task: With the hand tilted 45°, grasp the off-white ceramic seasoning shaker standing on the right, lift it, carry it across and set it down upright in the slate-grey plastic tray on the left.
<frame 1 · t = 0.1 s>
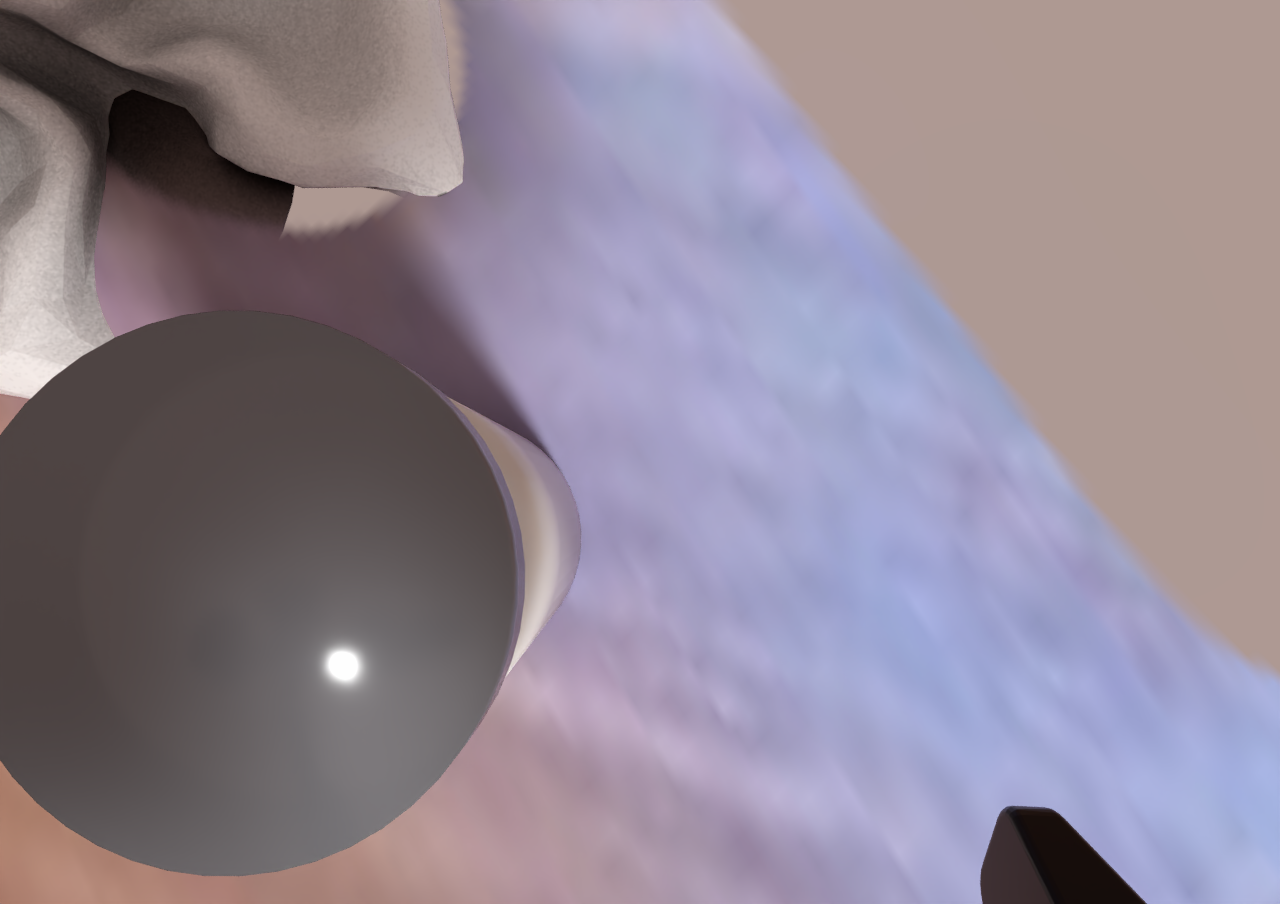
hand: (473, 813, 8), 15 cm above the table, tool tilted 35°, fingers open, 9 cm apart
shaker: (463, 538, 23), on the table
cloth: (39, 1, 25), on the table
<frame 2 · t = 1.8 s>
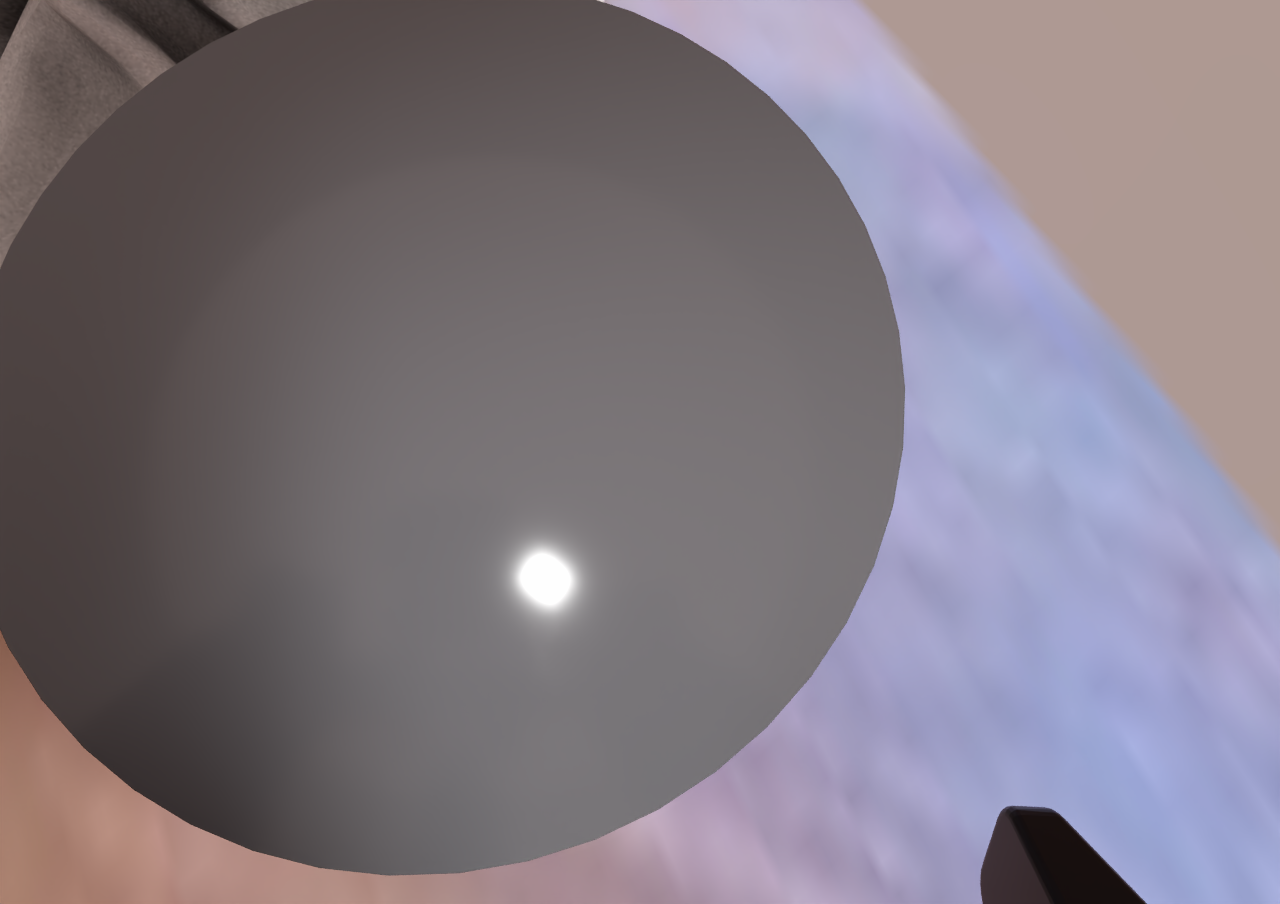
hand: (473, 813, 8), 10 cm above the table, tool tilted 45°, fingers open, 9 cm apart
shaker: (569, 606, 19), on the table
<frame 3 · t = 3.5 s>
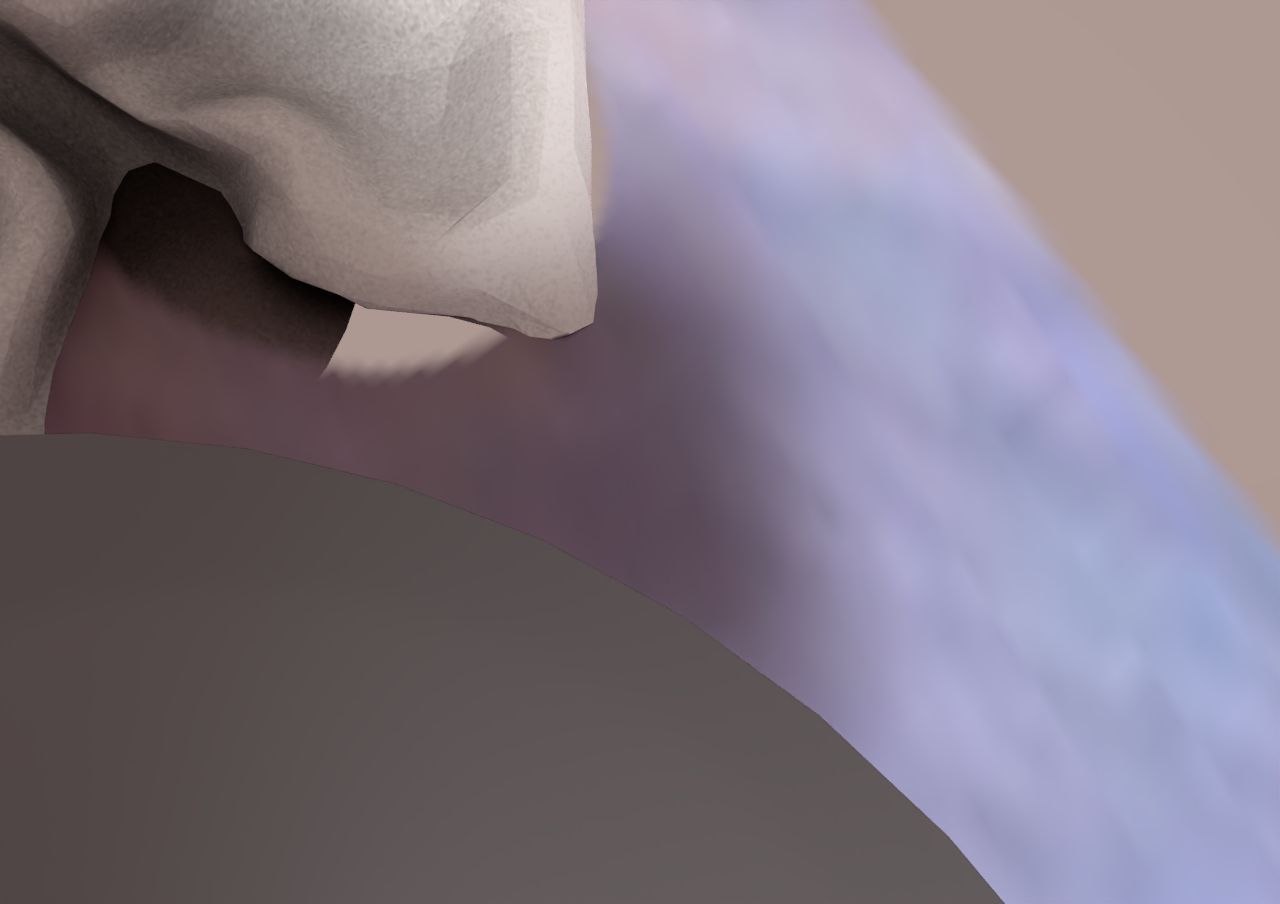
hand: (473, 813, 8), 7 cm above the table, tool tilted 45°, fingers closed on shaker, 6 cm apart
shaker: (536, 867, 14), on the table, touching gripper
cloth: (57, 49, 19), on the table
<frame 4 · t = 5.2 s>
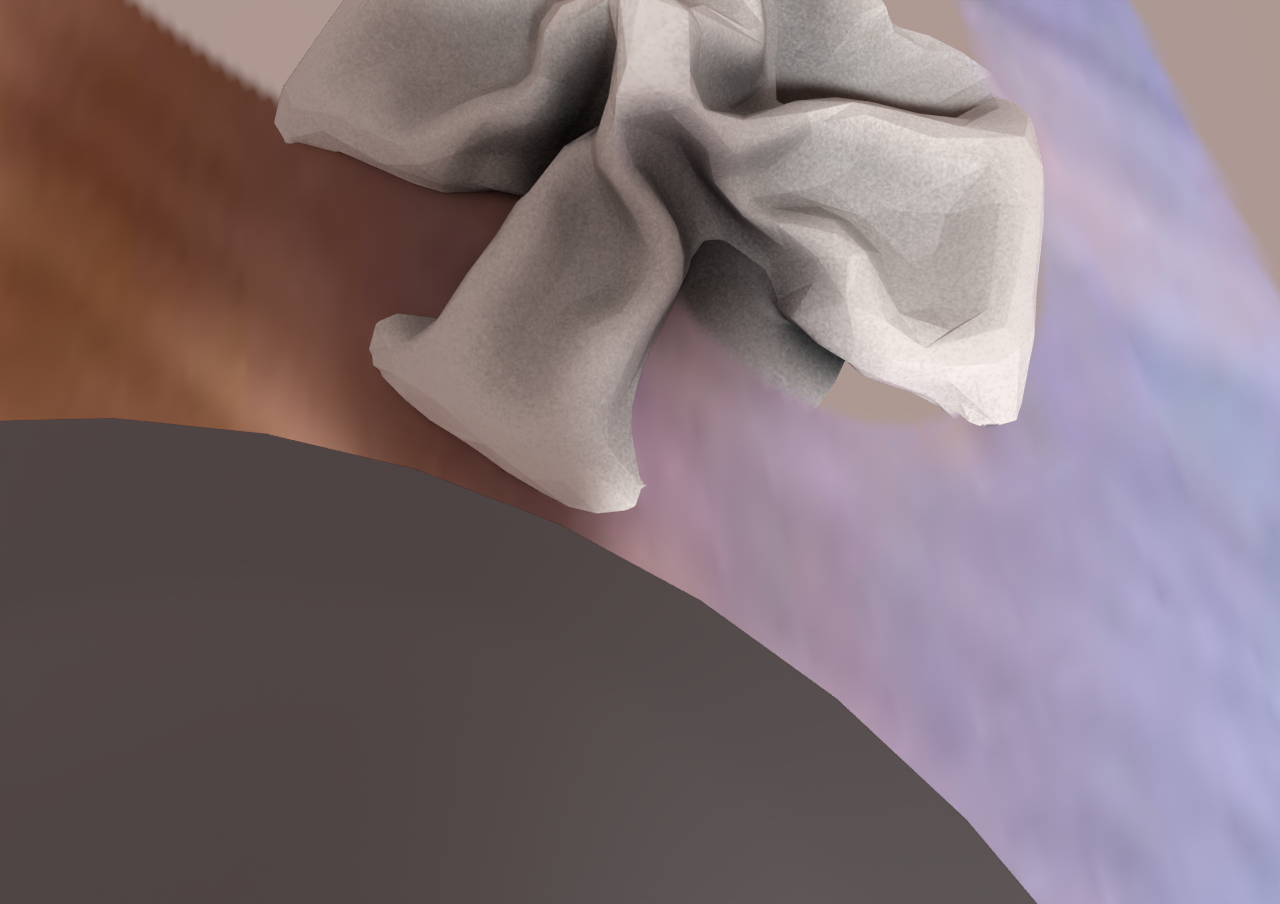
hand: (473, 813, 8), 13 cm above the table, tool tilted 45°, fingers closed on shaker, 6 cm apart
shaker: (539, 864, 14), point 7 cm above the table, touching gripper
cloth: (647, 132, 26), on the table
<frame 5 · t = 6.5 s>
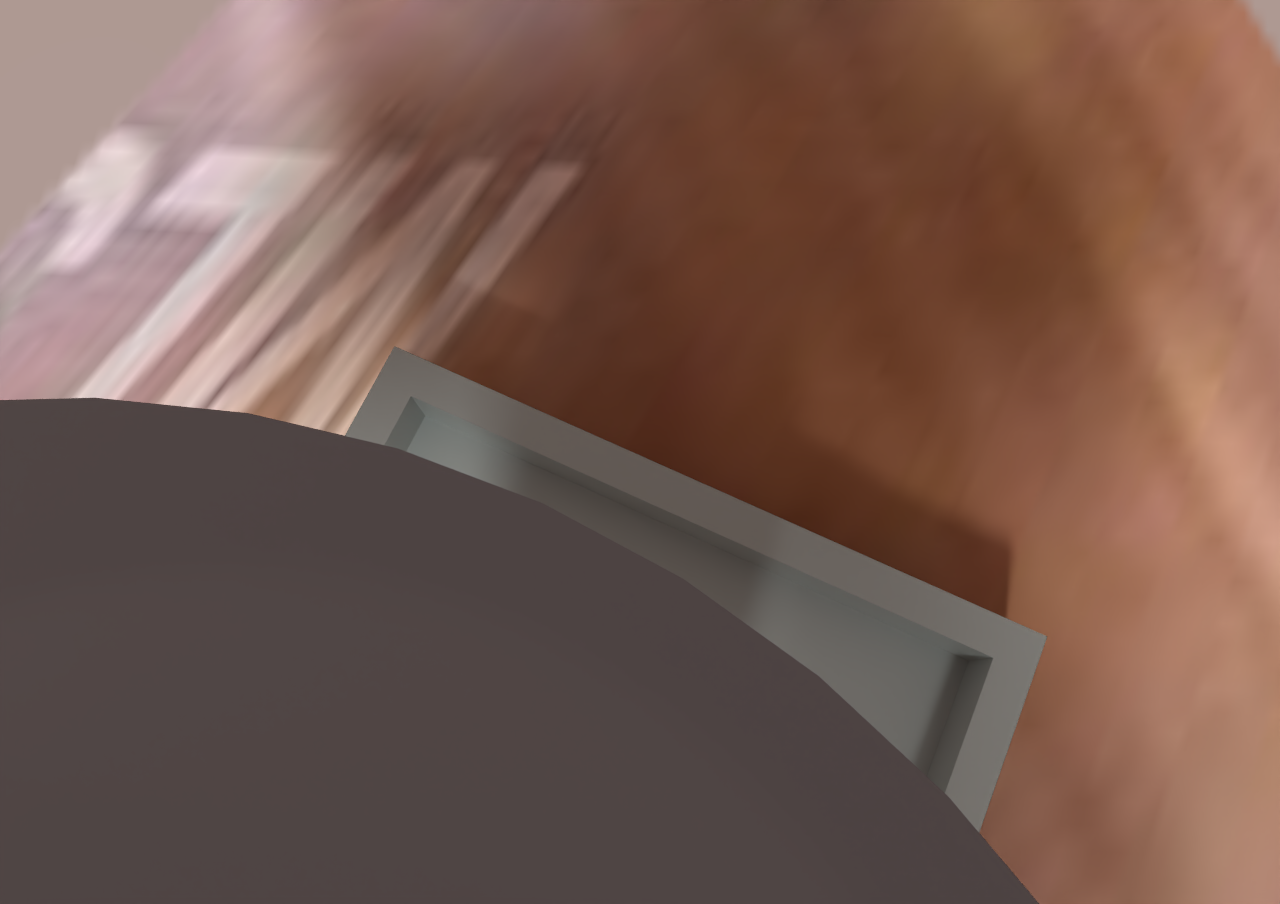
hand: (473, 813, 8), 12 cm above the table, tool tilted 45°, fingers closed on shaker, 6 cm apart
shaker: (536, 861, 14), point 6 cm above the table, touching gripper
tray: (562, 817, 20), on the table
when the fingers open (9 cm above the table, at t = 7.4 s): shaker drops 2 cm, resting on tray.
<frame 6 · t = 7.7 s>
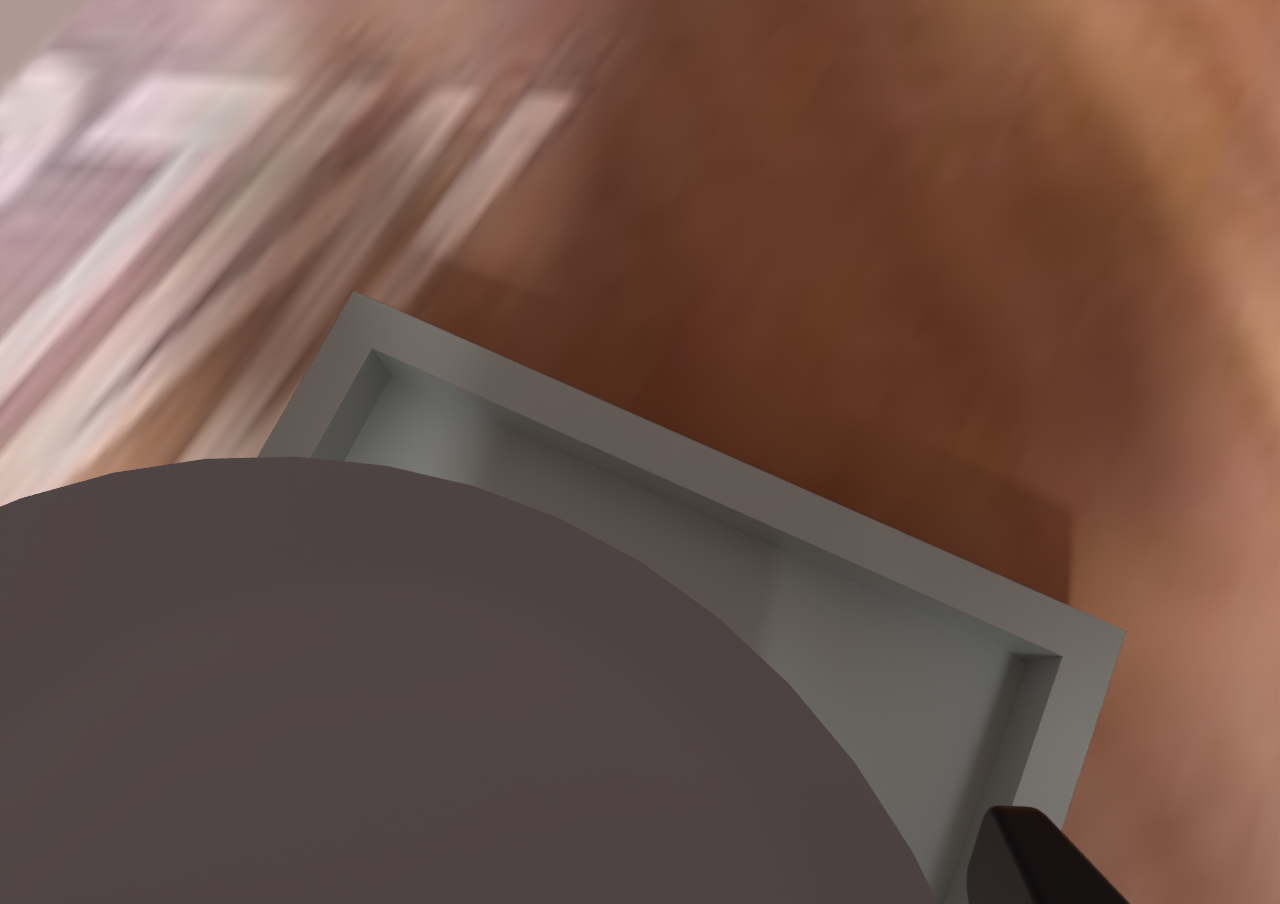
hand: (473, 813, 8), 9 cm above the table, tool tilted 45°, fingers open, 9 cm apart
shaker: (544, 850, 16), point 1 cm above the table, touching tray
tray: (550, 844, 17), on the table
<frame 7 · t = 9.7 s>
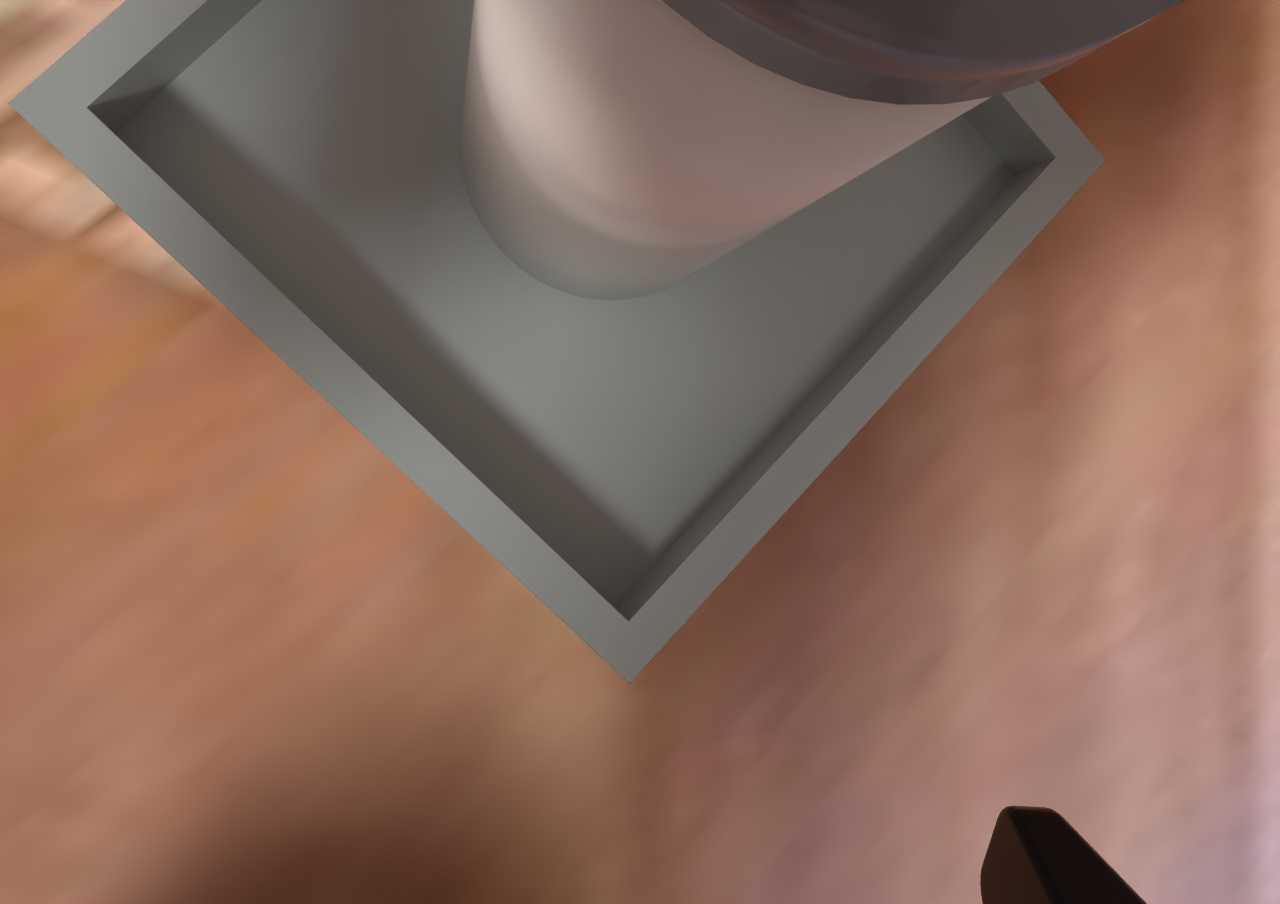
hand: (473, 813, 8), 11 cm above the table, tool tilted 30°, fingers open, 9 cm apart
shaker: (607, 155, 19), point 1 cm above the table, touching tray
tray: (601, 167, 20), on the table
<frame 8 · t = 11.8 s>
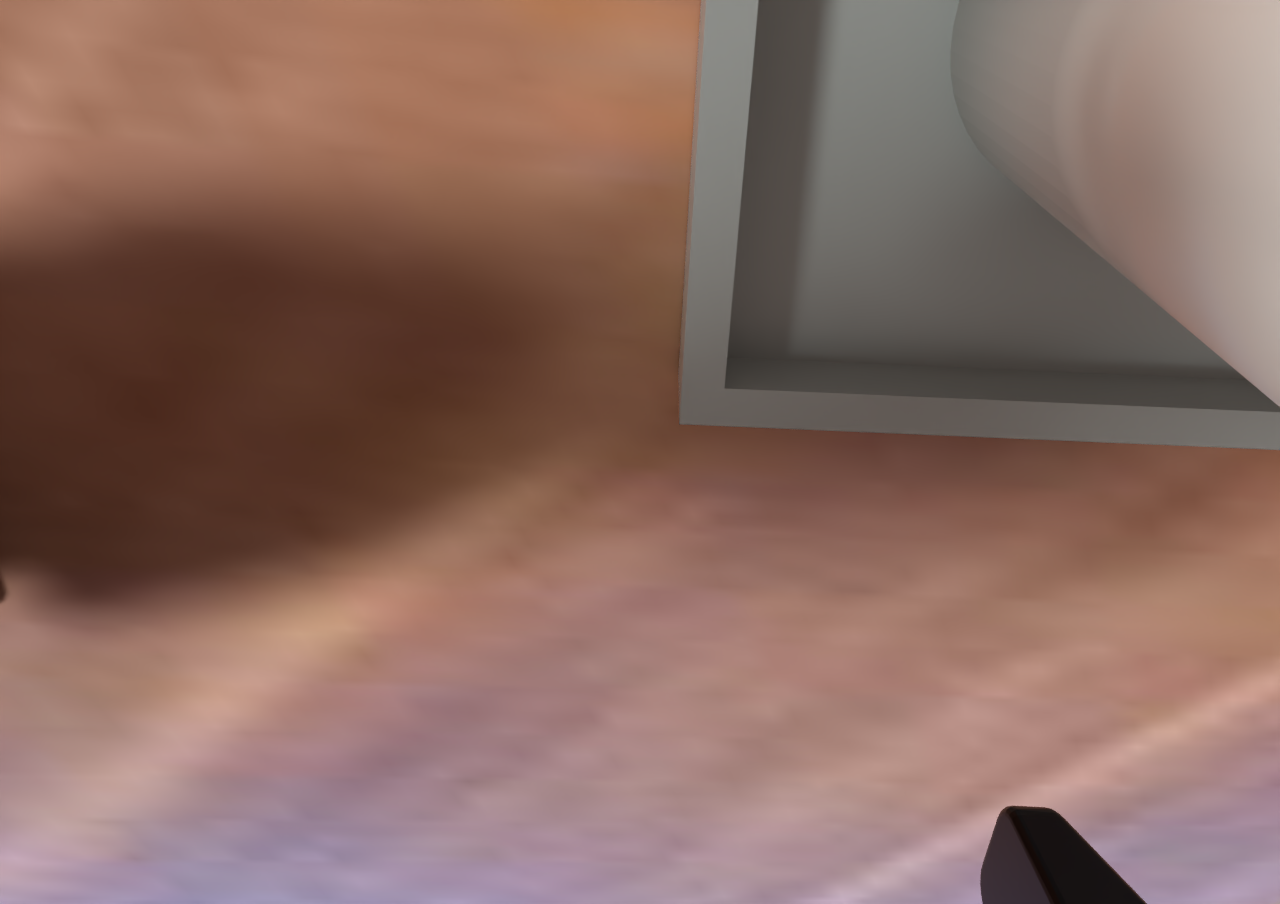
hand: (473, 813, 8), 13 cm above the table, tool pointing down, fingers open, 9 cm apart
shaker: (1120, 32, 16), point 1 cm above the table, touching tray
tray: (1101, 28, 17), on the table
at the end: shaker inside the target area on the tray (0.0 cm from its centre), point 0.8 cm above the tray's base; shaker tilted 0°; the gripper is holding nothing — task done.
